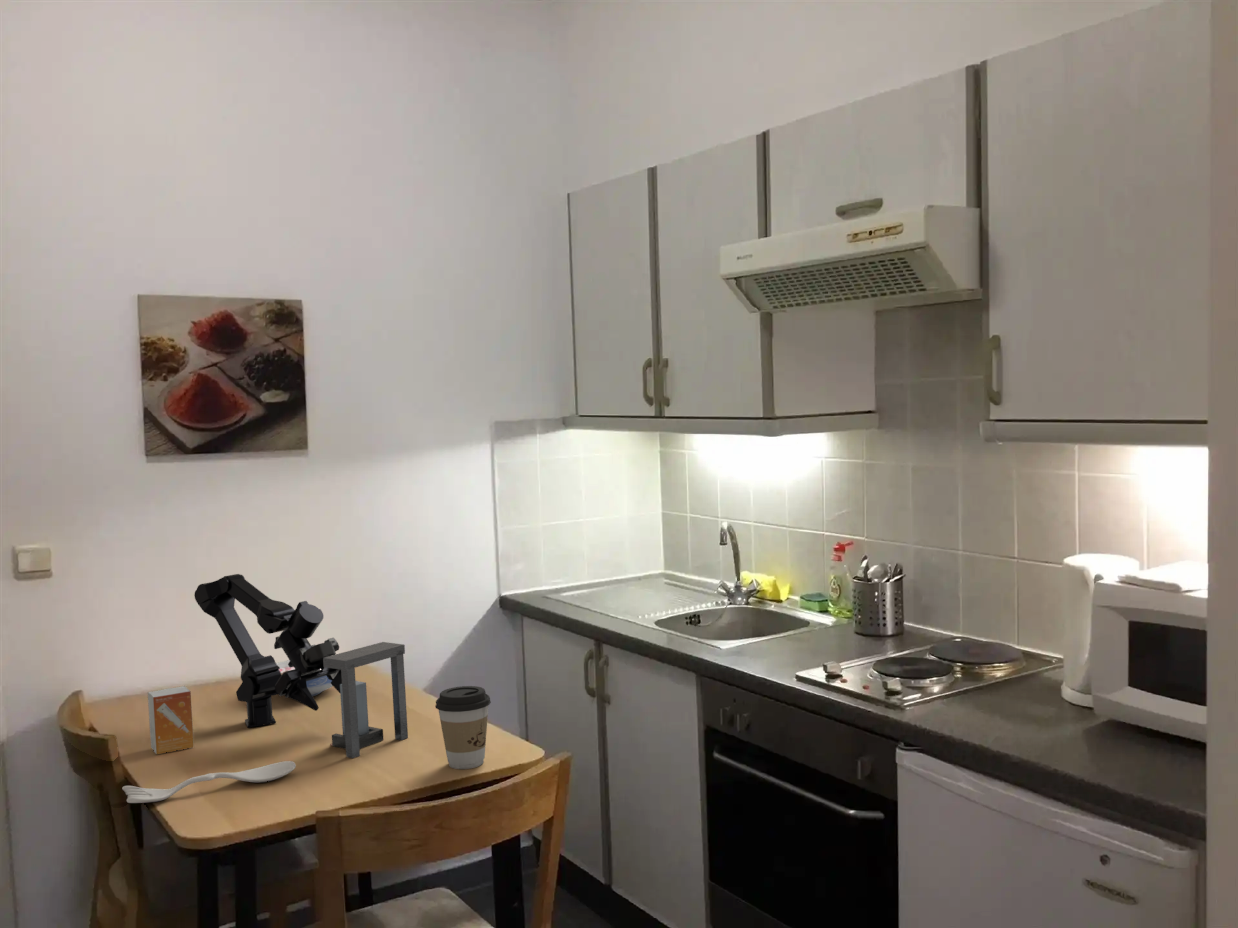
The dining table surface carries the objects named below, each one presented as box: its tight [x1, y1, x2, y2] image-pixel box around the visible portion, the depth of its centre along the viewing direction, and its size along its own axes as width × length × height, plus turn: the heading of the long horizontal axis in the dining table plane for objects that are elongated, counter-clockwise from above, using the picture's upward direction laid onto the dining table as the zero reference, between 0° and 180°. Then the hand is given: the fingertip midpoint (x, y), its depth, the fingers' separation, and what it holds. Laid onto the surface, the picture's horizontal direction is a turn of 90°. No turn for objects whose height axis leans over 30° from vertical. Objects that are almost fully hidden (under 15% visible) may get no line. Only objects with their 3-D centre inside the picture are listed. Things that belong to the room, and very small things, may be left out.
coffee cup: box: [435, 685, 492, 770], centre depth 225 cm, size 11×11×15 cm
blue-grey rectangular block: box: [339, 680, 370, 735], centre depth 243 cm, size 4×4×13 cm
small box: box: [147, 685, 195, 755], centre depth 245 cm, size 8×6×13 cm
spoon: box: [122, 760, 297, 804], centre depth 217 cm, size 9×32×4 cm, turn 120°
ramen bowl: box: [276, 659, 333, 697], centre depth 289 cm, size 25×23×8 cm
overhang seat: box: [323, 641, 409, 759], centre depth 242 cm, size 12×17×21 cm
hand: (333, 704), depth 247 cm, fingers open, 9 cm apart
